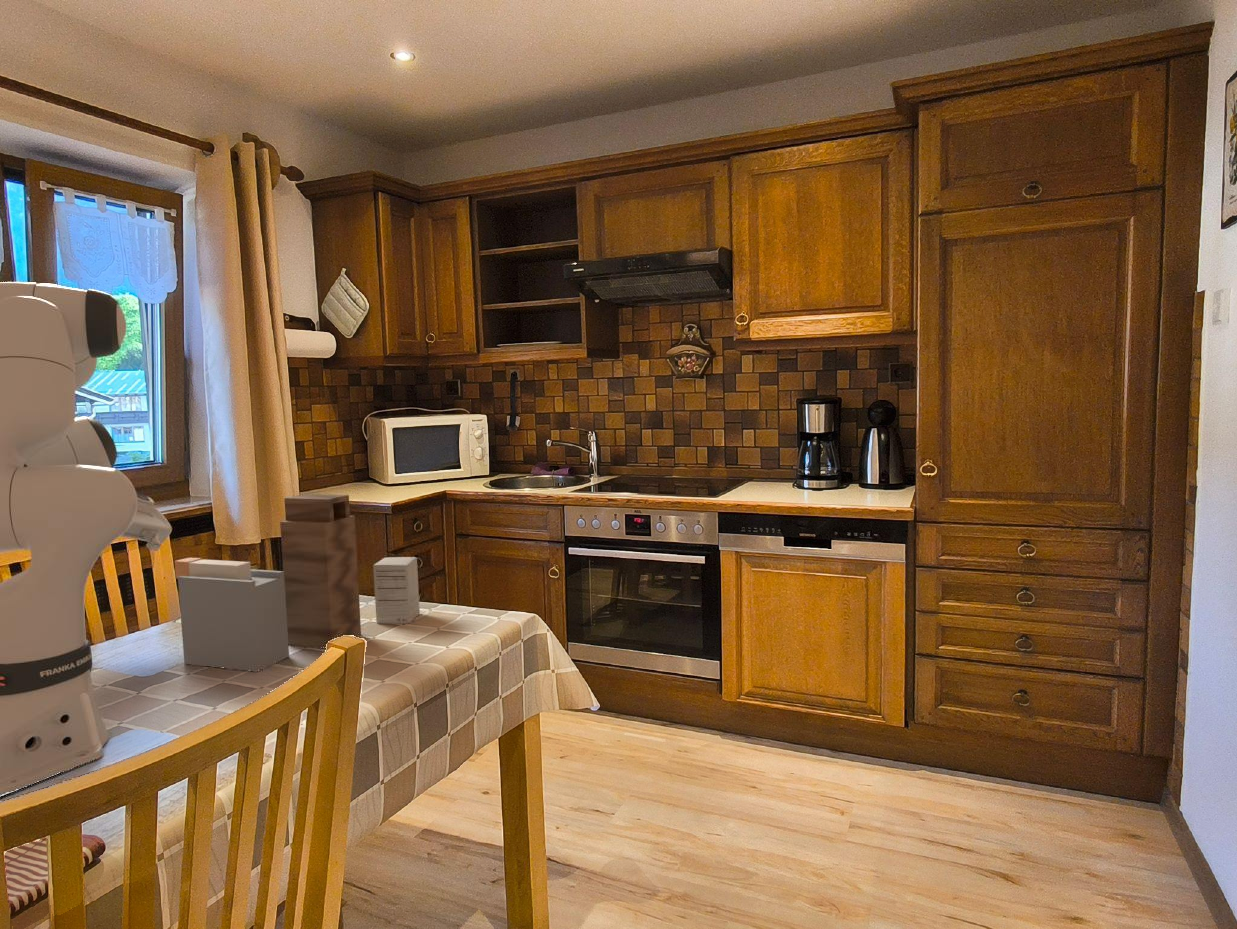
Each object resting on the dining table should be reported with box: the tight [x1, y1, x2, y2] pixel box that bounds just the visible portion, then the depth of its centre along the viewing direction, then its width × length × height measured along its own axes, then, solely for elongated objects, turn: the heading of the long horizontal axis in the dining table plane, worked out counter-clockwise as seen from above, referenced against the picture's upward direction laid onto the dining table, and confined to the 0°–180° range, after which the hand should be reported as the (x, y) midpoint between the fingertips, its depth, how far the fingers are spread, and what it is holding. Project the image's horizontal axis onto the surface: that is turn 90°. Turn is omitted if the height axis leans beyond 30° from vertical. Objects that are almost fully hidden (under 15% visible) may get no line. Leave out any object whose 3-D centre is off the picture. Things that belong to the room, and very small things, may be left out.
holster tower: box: [279, 493, 362, 650], centre depth 150 cm, size 9×10×28 cm
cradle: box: [177, 568, 290, 673], centre depth 139 cm, size 8×16×16 cm, turn 73°
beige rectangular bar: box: [174, 556, 252, 580], centre depth 140 cm, size 3×14×3 cm, turn 73°
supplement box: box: [372, 556, 421, 624], centre depth 164 cm, size 7×7×13 cm
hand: (132, 543), depth 143 cm, fingers open, 8 cm apart
